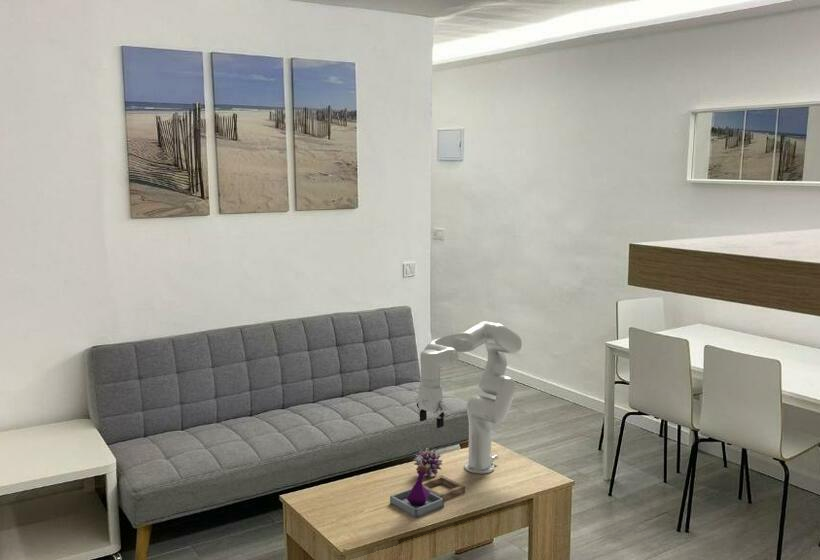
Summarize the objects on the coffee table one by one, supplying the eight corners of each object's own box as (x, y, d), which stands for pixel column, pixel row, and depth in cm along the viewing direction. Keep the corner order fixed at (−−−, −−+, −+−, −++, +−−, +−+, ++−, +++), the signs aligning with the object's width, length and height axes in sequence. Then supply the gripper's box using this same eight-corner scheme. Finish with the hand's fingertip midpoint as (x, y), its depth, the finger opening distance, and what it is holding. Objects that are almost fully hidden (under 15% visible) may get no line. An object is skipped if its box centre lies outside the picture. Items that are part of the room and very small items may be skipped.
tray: (417, 493, 291) (417, 485, 290) (443, 506, 280) (444, 499, 279) (390, 503, 282) (390, 496, 281) (415, 517, 271) (415, 509, 270)
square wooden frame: (441, 481, 302) (441, 475, 302) (465, 492, 292) (465, 486, 292) (416, 490, 293) (416, 484, 293) (439, 502, 283) (439, 496, 283)
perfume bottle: (429, 500, 283) (430, 455, 281) (426, 509, 276) (426, 463, 273) (410, 498, 285) (410, 453, 282) (406, 507, 278) (406, 461, 275)
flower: (448, 475, 308) (448, 448, 306) (429, 484, 299) (429, 456, 297) (427, 467, 315) (427, 441, 313) (408, 476, 306) (408, 449, 305)
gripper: (408, 379, 290) (409, 420, 293) (439, 389, 277) (439, 432, 280) (422, 374, 295) (423, 415, 298) (453, 384, 282) (454, 427, 285)
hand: (431, 423), depth 289 cm, fingers open, 9 cm apart
